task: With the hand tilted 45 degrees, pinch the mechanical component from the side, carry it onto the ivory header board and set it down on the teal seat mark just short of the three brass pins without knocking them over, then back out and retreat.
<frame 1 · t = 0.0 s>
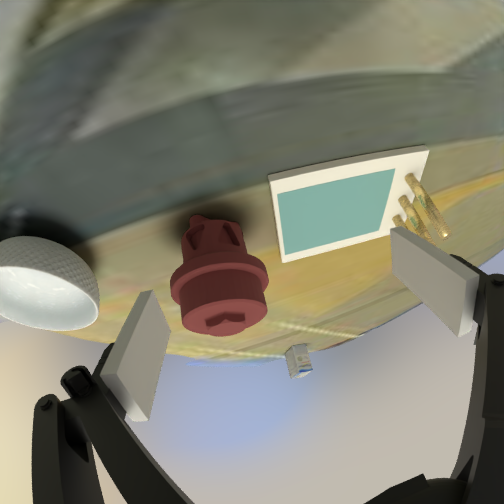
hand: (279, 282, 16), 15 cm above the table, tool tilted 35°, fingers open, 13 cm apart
medicine box: (294, 347, 89), on the table
pin 2: (402, 198, 36), point 1 cm above the table, touching header board
header board: (348, 205, 36), on the table
cereal bowl: (43, 255, 32), on the table
pin 3: (396, 217, 39), point 1 cm above the table, touching header board
pin 1: (409, 177, 32), point 1 cm above the table, touching header board
mechanical component: (210, 227, 35), on the table
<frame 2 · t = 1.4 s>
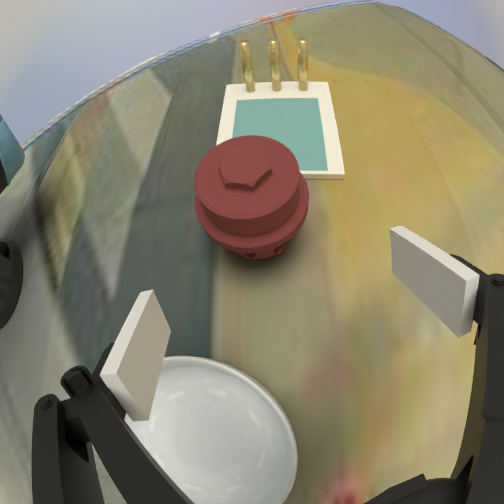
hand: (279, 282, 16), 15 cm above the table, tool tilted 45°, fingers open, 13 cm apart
pin 2: (277, 89, 42), point 1 cm above the table, touching header board
header board: (277, 125, 40), on the table
cereal bowl: (209, 439, 26), on the table
pin 3: (303, 88, 41), point 1 cm above the table, touching header board
pin 1: (251, 90, 42), point 1 cm above the table, touching header board
mechanical component: (259, 235, 34), on the table
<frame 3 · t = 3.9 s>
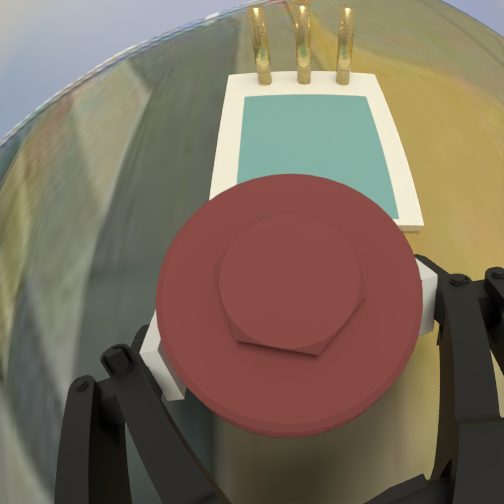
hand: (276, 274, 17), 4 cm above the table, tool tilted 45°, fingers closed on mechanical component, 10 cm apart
pin 2: (304, 80, 27), point 1 cm above the table, touching header board
header board: (310, 136, 25), on the table
pin 3: (342, 81, 27), point 1 cm above the table, touching header board
pin 1: (265, 82, 28), point 1 cm above the table, touching header board
mechanical component: (290, 337, 19), on the table, touching gripper
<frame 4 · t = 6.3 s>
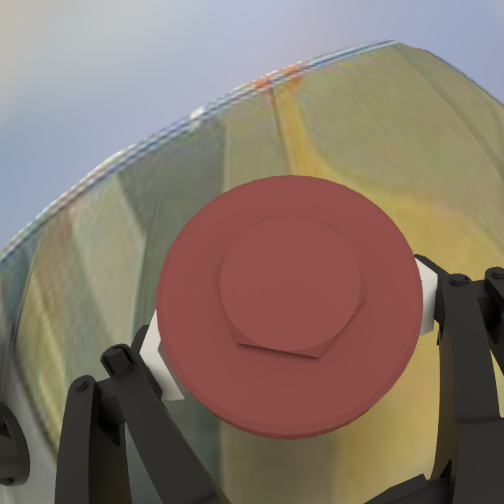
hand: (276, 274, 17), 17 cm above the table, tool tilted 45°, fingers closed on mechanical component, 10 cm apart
mechanical component: (290, 338, 19), point 13 cm above the table, touching gripper
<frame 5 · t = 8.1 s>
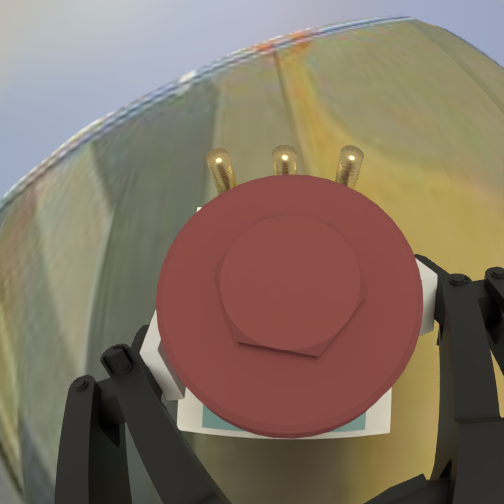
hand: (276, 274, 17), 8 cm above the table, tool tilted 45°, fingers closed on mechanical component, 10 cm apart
pin 2: (287, 225, 25), point 1 cm above the table, touching header board
header board: (287, 317, 23), on the table
pin 3: (334, 224, 25), point 1 cm above the table, touching header board
pin 1: (239, 225, 26), point 1 cm above the table, touching header board
mechanical component: (290, 338, 19), point 4 cm above the table, touching gripper
when the fingers open (6 cm above the table, at t = 9.0 s): mechanical component drops 1 cm, resting on header board.
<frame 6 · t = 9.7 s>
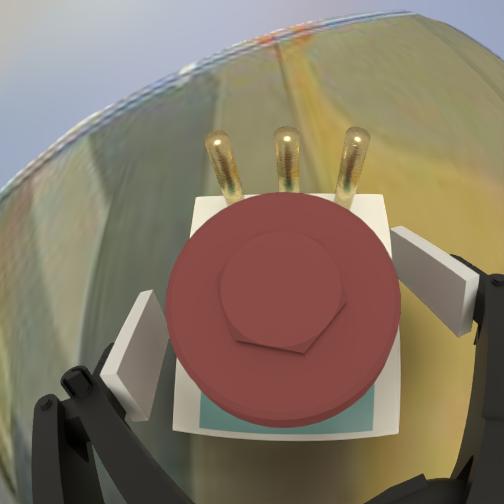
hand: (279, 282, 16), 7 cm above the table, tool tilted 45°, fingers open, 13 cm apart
pin 2: (289, 214, 24), point 1 cm above the table, touching header board
header board: (290, 311, 22), on the table
pin 3: (339, 214, 24), point 1 cm above the table, touching header board
pin 1: (240, 215, 25), point 1 cm above the table, touching header board
mechanical component: (288, 338, 21), point 1 cm above the table, touching header board
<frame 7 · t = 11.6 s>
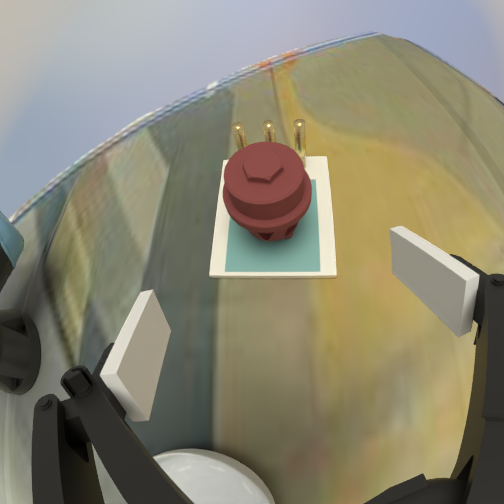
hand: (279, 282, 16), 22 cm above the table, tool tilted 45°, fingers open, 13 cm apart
pin 2: (274, 167, 45), point 1 cm above the table, touching header board
header board: (274, 213, 43), on the table
cereal bowl: (212, 497, 28), on the table
pin 3: (301, 166, 44), point 1 cm above the table, touching header board
pin 1: (248, 168, 45), point 1 cm above the table, touching header board
mechanical component: (272, 223, 41), point 1 cm above the table, touching header board
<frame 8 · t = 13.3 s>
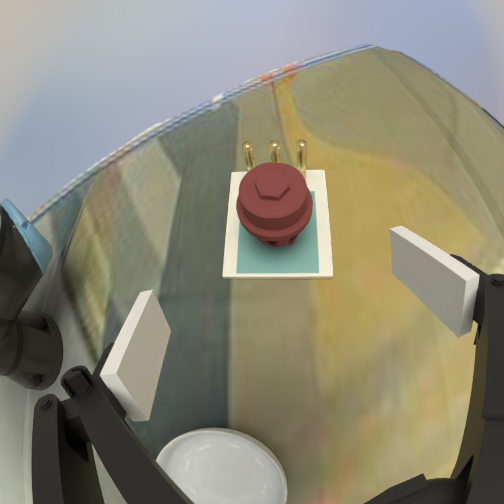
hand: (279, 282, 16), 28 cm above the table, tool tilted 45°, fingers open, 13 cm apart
pin 2: (277, 179, 50), point 1 cm above the table, touching header board
header board: (278, 221, 48), on the table
cereal bowl: (227, 474, 34), on the table
pin 3: (301, 179, 50), point 1 cm above the table, touching header board
pin 1: (254, 180, 51), point 1 cm above the table, touching header board
mechanical component: (277, 231, 47), point 1 cm above the table, touching header board
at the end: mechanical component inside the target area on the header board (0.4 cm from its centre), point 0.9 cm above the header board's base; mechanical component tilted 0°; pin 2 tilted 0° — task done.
